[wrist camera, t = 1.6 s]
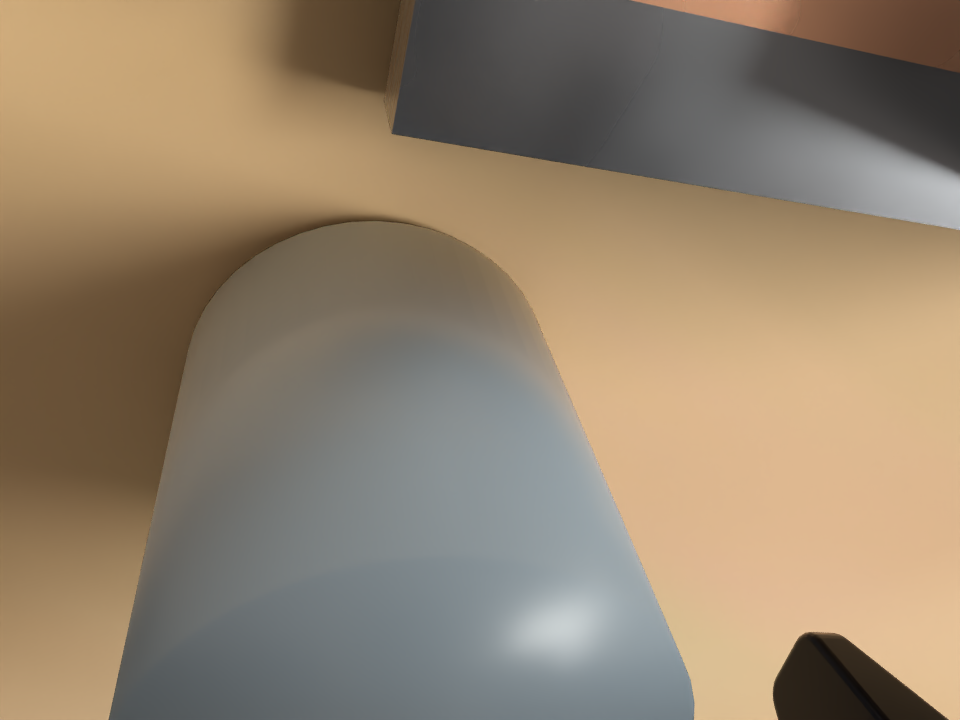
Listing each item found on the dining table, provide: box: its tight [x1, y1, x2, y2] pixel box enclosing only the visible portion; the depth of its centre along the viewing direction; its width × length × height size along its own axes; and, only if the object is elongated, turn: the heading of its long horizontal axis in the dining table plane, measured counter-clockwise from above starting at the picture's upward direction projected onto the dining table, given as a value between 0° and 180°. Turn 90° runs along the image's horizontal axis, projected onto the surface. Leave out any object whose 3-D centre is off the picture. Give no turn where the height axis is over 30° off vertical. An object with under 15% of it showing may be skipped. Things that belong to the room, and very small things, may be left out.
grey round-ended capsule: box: [109, 221, 694, 720], centre depth 10 cm, size 5×5×6 cm
